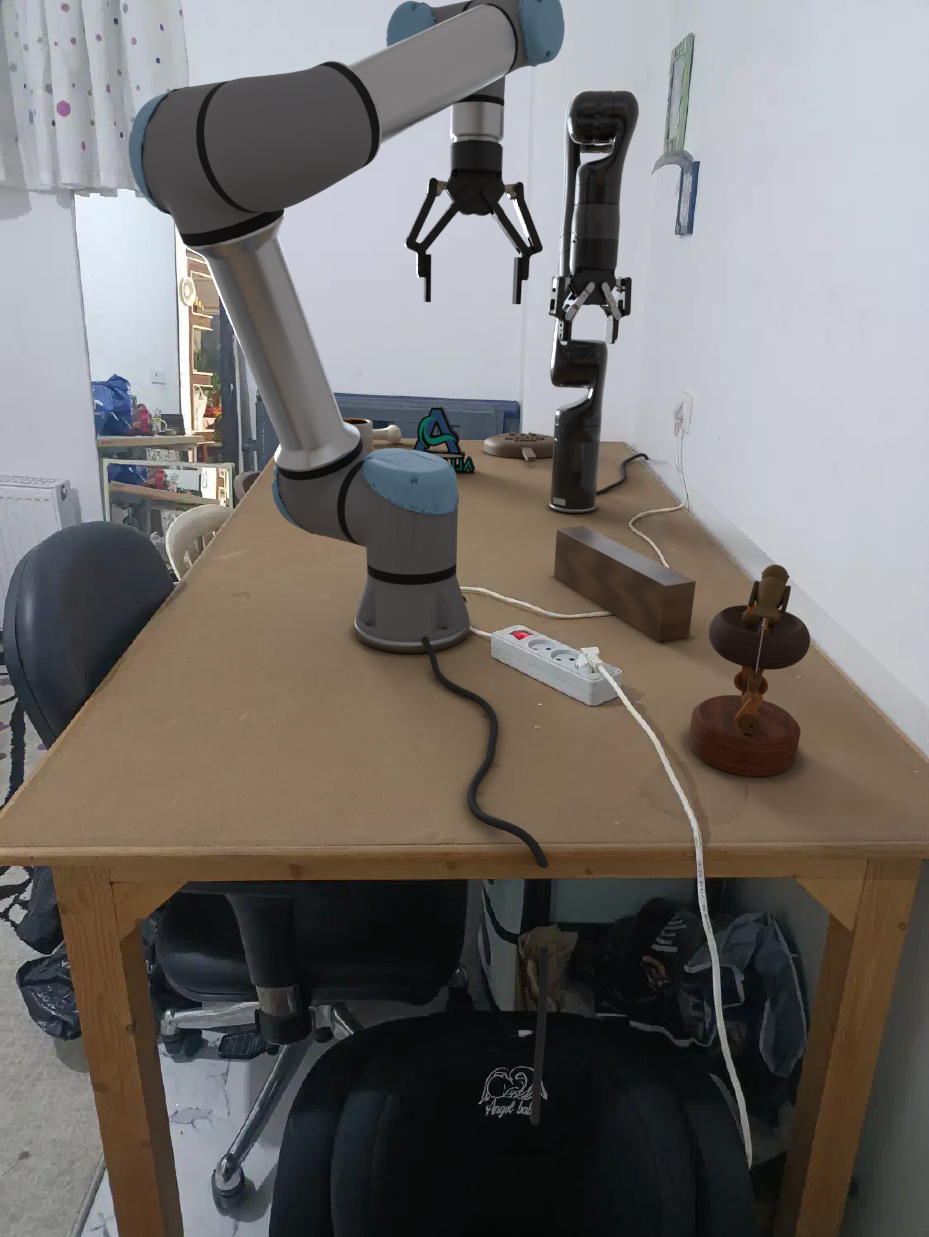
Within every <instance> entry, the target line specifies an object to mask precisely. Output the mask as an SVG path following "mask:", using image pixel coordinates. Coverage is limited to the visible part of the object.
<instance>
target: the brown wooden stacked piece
mask: <svg viewBox="0 0 929 1237" xmlns="http://www.w3.org/2000/svg"><path fill="white" fill-rule="evenodd" d="M760 573H761V580H754V582H753V584H752V585H753V586H752V589H751V592H750V596H749V599H748V603H747V604H740V605H733V606H728V607H726V608H724V609H721V610H720V611H718V613H716V614H715V615H714V617H713V618H712V619H711V621H710V624H709V628H708V639H709V642H710V645H711V647H712V648H713V650H714V651H715V652H716V653H717V654H718V655H719V656H720V657H722V658H723V659H725V660H726V661H728V662H731V663H733V664H736V665H738V666H741V670H739V671H738V672H736V673H735V675H734V677H733V685H734V687H735V688H736V689H737V690H738V691H740V692H741V693H740V695H739V694H738V695H737V694H723V695H717V696H713V697H710V698H708V699H705V700H704V701H702V702H700V703H698V704H697V705H696V706H694V708H693V710H692V711H691V712H692V713H691V719H690V727H689V734H688V746H689V748H690V750H691V751H692V753H693V754H694V755H695V756H696V757H698V758H699V759H700V760H701V761H703V762H704V763H706V764H708V765H710V766H712V767H714V768H716V769H719V770H722V771H724V772H727V773H731V774H735V775H741V776H749V777H769V776H775V775H779V774H782V773H784V772H786V771H788V770H790V769H791V768H792V767H793V766H794V764H795V763H796V759H797V753H798V748H799V742H800V738H801V734H802V733H801V732H802V731H801V727H800V725H799V723H798V721H797V720H796V719H795V718H794V717H793V716H792V715H791V714H790V712H788V711H787V710H785V709H784V708H782V707H781V706H779V705H777V704H775V703H773V702H770V701H768V700H765V699H764V695H765V694H766V693H767V691H768V689H769V684H768V680H767V679H766V677H764V676H763V673H764V671H765V670H769V671H770V670H772V671H773V670H781V669H787V668H790V667H791V666H795V665H796V664H797V663H799V662H800V661H801V660H803V658H804V657H805V656H807V653H808V652H809V649H810V646H811V635H810V631H809V629H808V627H807V625H806V624H805V622H804V621H803V620H802V619H800V618H799V617H798V616H796V615H795V614H793V613H791V612H788V611H787V609H788V604H789V601H790V596H791V591H792V590H791V589H792V586H791V585H786V584H787V583H788V580H789V579H790V575H789V573H788V570H787V569H786V568H785V567H783V566H782V565H780V564H771V565H768V566H767V567H766V568H764V570H763V571H761V572H760Z"/></svg>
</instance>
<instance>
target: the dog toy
mask: <svg viewBox="0 0 929 1237" xmlns="http://www.w3.org/2000/svg"><path fill="white" fill-rule="evenodd" d="M374 440H376V441H378V440H379V441H386V442H389V443H391V444H397V443H400V442H401V441H402V431H401V429H400V428H399V426H398V425H397V424H391V425H389V426H388V427H385V428H378V429H377V428H375V429H374V428H373V441H374Z"/></svg>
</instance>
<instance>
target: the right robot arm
mask: <svg viewBox="0 0 929 1237" xmlns="http://www.w3.org/2000/svg"><path fill="white" fill-rule="evenodd" d="M564 118H565V119H564V136H563V137H564V139H563V140H564V142H563V144H564V145H563V148H564V149H563V192H562V193H563V194H562V205H561V206H562V208H561V218H560V219H561V220H560V227H559V228H560V230H559V238H558V239H559V240H558V255H557V256H558V260H557V261H558V262H557V275H554V276H552V277H551V279H550V280H551V281H550V291H549V299H548V309H547V310H548V311H547V313H548V315H549V317H550V316H552V317H554V325H553V333H552V334H553V335H552V343H551V352H550V363H549V376H550V377H549V378H550V381H551V384H552V386H554V387H555V388H563V389H564V388H566V389H587V393H586V394H585V395H584V396H583V397H580V398H579V399H578V400H575V401H573V402H570V403H566V404H563V405H561V406H559V407H557V408H556V409H555V413H554V425H553V426H554V427H553V428H554V429H553V437H554V445H553V456H552V465H551V481H550V501H549V509H551V510H553V511H555V512H560V513H564V514H587V513H592V512H594V511H595V510H596V507H597V504H596V502H597V501H596V500H597V495H602V494H605V493H607V492H608V491H610V490H612V489H615V488H617V487H620V486H621V485H623V484H624V483H625V482H626V481H627V478H628V476H627V471H626V470H627V469H626V468H625V466H626V465H627V464H628V463H630V462H632V461H634V460H636V459H639V458H644V460H650V459H649V456H648V455H647V454H646V453H643V452H640V453H636V454H634V455H632V456H631V457H628V458H626V459H624V460H623V461H622V462H621V464H620V470H621V475H622V478H621V479H620V480H618V481H616V482H614V483H611V484H609V485H607V486H606V487H604V488H602V489H599V490H598V488H597V487H598V477H599V476H598V474H599V462H600V450H601V449H600V447H601V434H602V422H603V419H602V418H603V406H604V394H605V384H606V379H607V378H606V377H607V370H608V363H609V362H608V361H609V349H608V345H615V343H616V341H617V340H618V338H619V329H620V328H619V326H620V320H621V319H622V318H624V317H628V316H630V315H631V313H632V291H633V290H632V287H633V279H632V277H630V276H619V277H616V274H615V273H616V269H617V266H618V256H619V244H620V232H621V231H620V229H621V196H622V183H623V175H624V170H625V164H626V160H627V156H628V152H629V149H630V147H631V143H632V140H633V138H634V134H635V132H636V129H637V126H638V123H639V118H640V103H639V100H638V98H637V97H636V94H635V93H633V91H632V90H627V89H609V90H608V89H596V90H595V89H586V90H581V91H578V92H577V93H576V94H575V95H574V96H573V97H571V98H570V99H569V101H568V103H567V105H566V110H565V116H564ZM584 154H585V155H606V156H605V157H602V158H599V159H595V160H591V161H586V162H583V163H582V156H581V155H584ZM614 289H615V291H616V299H615V297H614V295H613V293H612V292H613V291H614ZM582 306H598V307H599V308H600V309H602V310H603V312H604V314H605V316H606V318H607V319H605V328H604V330H605V331H604V339H602V338H587V337H586V338H584V337H583V338H582V337H573V338H572V335H573V334H572V330H573V323H574V322H575V319H576V317H577V315H578V313H579V311H580V310H581V307H582Z"/></svg>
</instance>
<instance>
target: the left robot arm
mask: <svg viewBox="0 0 929 1237" xmlns="http://www.w3.org/2000/svg"><path fill="white" fill-rule="evenodd" d="M563 10H564V9H563V7H562V4H561V1H560V0H466V1H461V2H455V3H451V4H446V5H442V6H430V4H428V3H426V2H424V1H422V2H418V1H414V0H407V1H403V2H402V3H401V4H399V5H398V6H397V7H396V8H395V9H394V10H393V12H392V14H391V16H390V17H389V20H388V24H387V27H386V34H385V35H386V38H385V41H386V44H385V45H386V47H384V48H381V49H380V50H377V51H376V52H374V53H371V54H370V55H367V56H366V57H365V56H364V57H362V58H361V59H358V60H356V61H354V62H351V63H349V64H345V63H343V62H341V61H336V60H328V61H324V62H322V63H320V64H317V65H315V66H313V67H310V68H306V69H303V70H297V71H291V72H285V73H277V74H268V75H256V76H247V77H246V76H245V77H240V78H235V79H230V80H225V81H224V80H223V81H217V82H212V83H205V84H199V85H192V86H189V85H188V86H184V87H179V88H173V89H171V90H170V91H167V92H164V93H161V94H159V95H157V96H154V97H152V98H151V99H149V100H148V101H147V102H146V103H145V104H144V105H143V106H142V107H141V108H140V109H139V111H138V112H137V113H136V115H135V117H134V119H133V123H132V128H131V131H130V133H129V137H128V160H129V162H128V163H129V166H130V167H129V168H130V171H131V174H132V177H133V179H134V182H135V184H136V186H137V188H138V190H139V192H140V193H141V195H142V196H143V198H144V199H145V200H146V202H148V203H149V204H150V205H151V206H152V207H153V208H156V209H157V210H158V211H159V212H161V213H163V214H165V215H167V216H168V217H171V218H172V220H173V222H174V225H175V227H176V230H177V232H178V234H179V237H180V239H181V241H182V243H183V245H184V248H186V249H187V250H189V251H191V252H194V253H195V254H197V255H199V256H201V257H203V259H204V260H205V263H206V265H207V268H208V270H209V272H210V276H211V278H212V280H213V282H214V285H215V287H216V290H217V292H218V295H219V297H220V299H221V302H222V305H223V307H224V309H225V312H226V315H227V317H228V320H229V322H230V324H231V326H232V328H233V331H234V333H235V336H236V338H237V341H238V344H239V346H240V348H241V351H242V353H243V355H244V358H245V361H246V364H247V366H248V368H249V370H250V373H251V375H252V378H253V380H254V383H255V385H256V388H257V390H258V392H259V395H260V398H261V400H262V403H263V405H264V407H265V410H266V412H267V414H268V417H269V419H270V422H271V424H272V427H273V429H274V433H275V435H276V436H277V439H278V442H279V445H278V446H277V448H276V451H275V453H274V462H275V465H274V468H273V470H272V471H273V472H272V475H274V480H272V481H271V493H272V497H273V501H274V504H275V506H276V508H277V509H278V512H279V513H280V514H281V516H282V517H283V518H284V519H285V520H286V521H287V522H289V524H291V525H293V526H295V527H296V528H299V529H301V530H304V531H305V532H307V533H309V534H311V535H317V536H321V537H326V538H330V539H335V540H338V541H342V542H346V543H349V544H353V545H356V546H360V547H365V548H366V579H365V584H364V586H363V589H362V592H361V596H360V600H359V602H358V606H357V609H356V612H355V618H354V633H355V636H356V638H357V639H358V640H359V641H360V642H362V643H363V644H365V645H367V646H368V647H371V648H374V649H377V650H380V651H384V652H390V653H396V654H397V653H398V654H425V653H426V654H427V656H428V658H429V662H430V666H431V669H432V672H433V674H434V676H435V678H436V679H437V680H438V681H439V682H440V683H441V684H442V685H443V686H444V687H446V688H448V689H449V690H451V691H452V692H454V693H456V694H458V695H460V696H463V697H465V698H467V699H469V700H471V701H473V702H475V703H476V704H478V705H479V706H480V707H481V708H482V709H483V710H484V712H485V713H486V715H487V716H488V719H489V724H490V730H489V736H488V741H487V742H488V744H487V749H486V754H485V757H484V759H483V762H482V764H481V765H480V766H479V768H478V770H477V771H476V773H475V774H474V777H473V778H472V779H471V781H470V783H469V785H468V788H467V793H466V799H467V805H468V808H469V810H470V812H471V814H472V815H473V816H474V817H475V818H476V819H477V820H479V821H480V822H482V823H483V824H485V825H488V826H491V827H493V828H495V829H498V830H500V831H504V832H506V833H509V834H511V835H513V836H514V837H517V838H518V839H520V840H521V841H522V842H523V843H524V844H525V845H526V846H527V847H528V848H529V849H530V851H531V852H532V854H533V856H534V858H535V860H536V863H537V865H538V866H539V867H540V868H542V869H547V868H548V867H549V863H548V860H547V856H546V855H545V853H544V851H543V849H542V848H541V846H540V844H539V842H538V841H536V839H535V838H534V837H533V836H532V835H531V834H530V833H529V832H528V831H526V830H525V829H524V828H521V827H519V825H516V824H514V823H512V822H509V821H506V820H503V819H501V818H498V817H495V816H492V815H491V814H487V813H486V812H484V811H483V810H482V808H480V807H479V804H478V802H477V791H478V787H479V785H480V783H481V782H482V781H483V778H484V777H485V775H486V774H487V773H488V770H490V767H491V765H492V764H493V761H494V758H495V754H496V747H497V741H498V736H499V722H498V717H497V715H496V712H495V710H494V708H493V707H492V706H491V704H490V703H489V702H488V701H486V699H484V698H483V697H482V696H480V695H478V694H477V693H475V692H473V691H471V690H469V689H466V688H464V687H462V686H460V685H457V684H456V683H454V682H452V681H451V680H449V679H448V678H447V677H445V675H444V674H443V672H442V671H441V669H440V667H439V663H438V660H437V656H436V654H435V652H439V651H443V650H446V649H449V648H452V647H455V646H457V645H458V644H460V643H462V642H463V641H464V640H466V639H467V637H468V636H469V634H470V616H469V612H468V608H467V606H466V604H468V601H467V598H466V597H465V596H464V595H463V593H462V589H461V586H460V583H459V581H458V577H457V561H458V560H457V559H458V558H457V557H458V556H457V554H458V521H459V519H458V518H459V503H460V497H459V492H458V477H457V472H456V471H455V470H454V468H453V467H452V466H451V464H450V463H451V462H449V463H448V462H447V461H446V460H444V459H443V458H441V457H438V456H436V455H433V454H430V453H426V452H422V451H418V450H413V449H405V448H400V447H399V448H397V447H395V448H391V447H389V448H383V449H376V450H374V451H373V452H371V453H369V454H368V455H367V453H366V450H365V447H364V444H363V442H362V439H361V436H360V433H359V431H358V429H357V428H356V427H355V426H353V425H351V424H349V423H346V422H344V421H343V419H342V418H343V417H342V413H341V411H340V408H339V405H338V402H337V399H336V396H335V394H334V391H333V389H332V385H331V383H330V382H331V381H330V379H329V377H328V374H327V371H326V367H325V365H324V362H323V359H322V357H321V355H320V351H319V347H318V345H317V342H316V339H315V336H314V333H313V331H312V328H311V325H310V322H309V319H308V316H307V314H306V311H305V308H304V305H303V301H302V300H301V299H302V298H301V296H300V294H299V291H298V287H297V285H296V283H295V282H296V281H295V280H294V276H293V274H292V271H291V268H290V265H289V262H288V259H287V256H286V253H285V250H284V248H283V245H282V242H281V239H280V236H279V231H280V228H281V226H282V224H283V221H284V220H285V217H286V212H285V209H287V208H291V207H293V206H296V205H298V204H300V203H302V202H304V201H306V200H308V199H310V198H312V197H314V196H316V195H317V194H320V193H321V192H323V191H325V190H327V189H329V188H330V187H332V186H334V185H335V184H337V183H339V182H341V181H343V180H344V179H346V178H347V177H349V176H351V175H353V174H354V173H355V172H358V171H359V170H362V169H363V168H365V167H366V166H368V165H369V164H371V163H372V162H373V161H374V160H375V159H376V157H377V155H378V153H379V151H380V148H381V145H383V144H385V143H387V142H389V141H390V140H392V139H394V138H395V137H397V136H400V135H401V134H403V133H404V132H406V131H408V130H410V129H412V128H413V127H415V126H417V125H419V124H421V123H423V122H424V121H426V120H428V119H429V118H431V117H433V116H435V115H437V114H438V113H440V112H442V111H443V110H444V111H445V109H447V108H449V107H450V130H449V136H450V138H451V139H452V140H453V142H452V143H451V145H449V176H448V179H447V181H445V180H439V179H437V178H436V177H431V178H430V179H428V181H427V183H426V190H425V191H426V192H425V197H424V199H423V202H422V204H421V206H420V207H419V210H418V212H417V215H416V216H415V219H414V221H413V223H412V225H411V227H410V230H409V232H408V234H407V236H406V238H405V241H404V243H403V246H404V248H406V249H407V250H410V251H413V252H414V253H415V254H416V276H417V278H423V303H432V253H427V251H428V249H429V248H430V247H431V246H432V245H433V243H434V242H435V241H436V240H437V239H438V237H439V236H440V235H441V233H442V232H443V231H444V230H445V228H446V227H447V226H448V224H449V223H450V222H451V221H452V220H453V218H454V217H455V216H456V215H457V214H458V213H460V214H461V215H462V216H473V215H475V216H478V217H485V216H487V215H490V217H491V218H492V219H493V220H494V221H495V222H496V224H497V225H498V226H499V228H500V229H501V231H502V232H503V233H504V236H505V237H506V238H507V239H508V241H509V242H510V244H511V245H512V246H513V248H514V249H515V250H516V252H517V254H518V256H516V257H513V276H512V301H511V304H512V305H521V304H522V290H523V289H522V288H523V281H528V280H529V278H530V260H531V257H532V256H533V255H537V254H539V253H541V252H542V251H543V249H544V247H543V244H542V241H541V239H540V235H539V233H538V231H537V228H536V225H535V223H534V220H533V218H532V215H531V212H530V210H529V207H528V204H527V202H526V199H525V185H524V183H523V182H522V181H517V182H516V183H508V184H505V183H504V180H503V161H504V160H503V159H504V155H503V154H504V147H503V145H502V144H501V143H500V142H501V141H502V140H504V135H505V134H504V132H505V103H506V102H505V91H506V76H507V75H509V74H511V73H513V72H515V71H516V70H518V69H522V68H525V67H532V68H535V67H537V66H539V65H542V64H546V63H550V62H552V61H553V60H555V59H556V58H557V56H558V55H559V53H560V51H561V50H562V47H563V44H564V38H565V27H566V26H565V25H566V24H565V20H564V11H563ZM443 191H445V192H446V194H447V195H448V197H449V198H450V201H451V203H450V204H449V206H448V207H447V208H446V210H445V211H444V212H443V213H442V215H441V216H440V217H439V219H438V220H437V221H436V222H435V224H434V225H433V226H432V227H431V228H430V230H429V231H428V232H427V234H426V235H425V236H424V238H423V239H422V240H421V241H420V242H419V241H417V240H418V238H419V236H420V233H421V231H422V229H423V226H424V225H425V222H426V220H427V218H428V217H429V214H430V211H431V210H432V208H433V206H434V203H435V201H436V198H438V197H440V196H441V195H442V193H443ZM504 194H506V195H507V197H508V200H510V201H512V203H513V207H514V209H515V212H516V214H517V215H516V216H517V217H518V220H519V222H520V225H521V227H522V230H523V233H524V235H525V238H526V240H527V243H528V245H527V243H526V242H525V240H524V239H523V237H522V236H521V235H520V233H519V232H518V230H517V229H516V228H515V225H514V224H513V223H512V221H511V220H510V218H509V217H508V216H507V213H506V211H505V210H504V208H503V206H502V205H501V204H500V200H501V198H503V196H504ZM548 991H549V947H545V946H539V947H538V995H537V996H538V997H537V998H538V1001H537V1017H536V1018H537V1019H536V1033H535V1047H534V1060H533V1074H532V1088H531V1089H532V1090H531V1108H530V1123H531V1125H533V1126H538V1124H540V1112H541V1111H540V1110H541V1094H542V1082H543V1081H542V1080H543V1067H544V1056H545V1055H544V1054H545V1043H546V1042H545V1041H546V1031H547V1030H546V1029H547V1014H548V1013H547V1012H548V995H549V994H548Z"/></svg>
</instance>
